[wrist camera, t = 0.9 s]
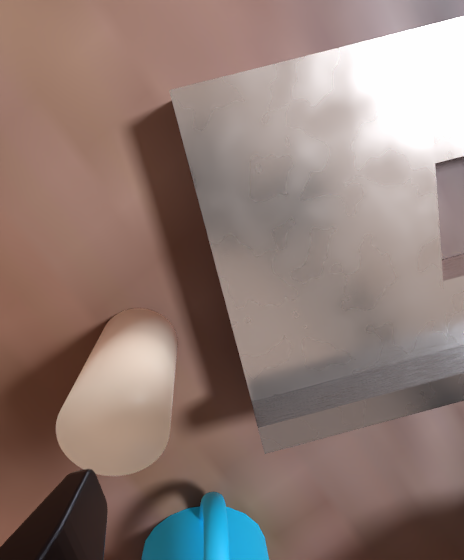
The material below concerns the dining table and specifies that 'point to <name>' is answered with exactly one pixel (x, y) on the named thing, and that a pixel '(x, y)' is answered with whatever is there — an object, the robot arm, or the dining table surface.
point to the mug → (206, 534)
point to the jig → (335, 228)
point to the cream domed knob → (122, 396)
